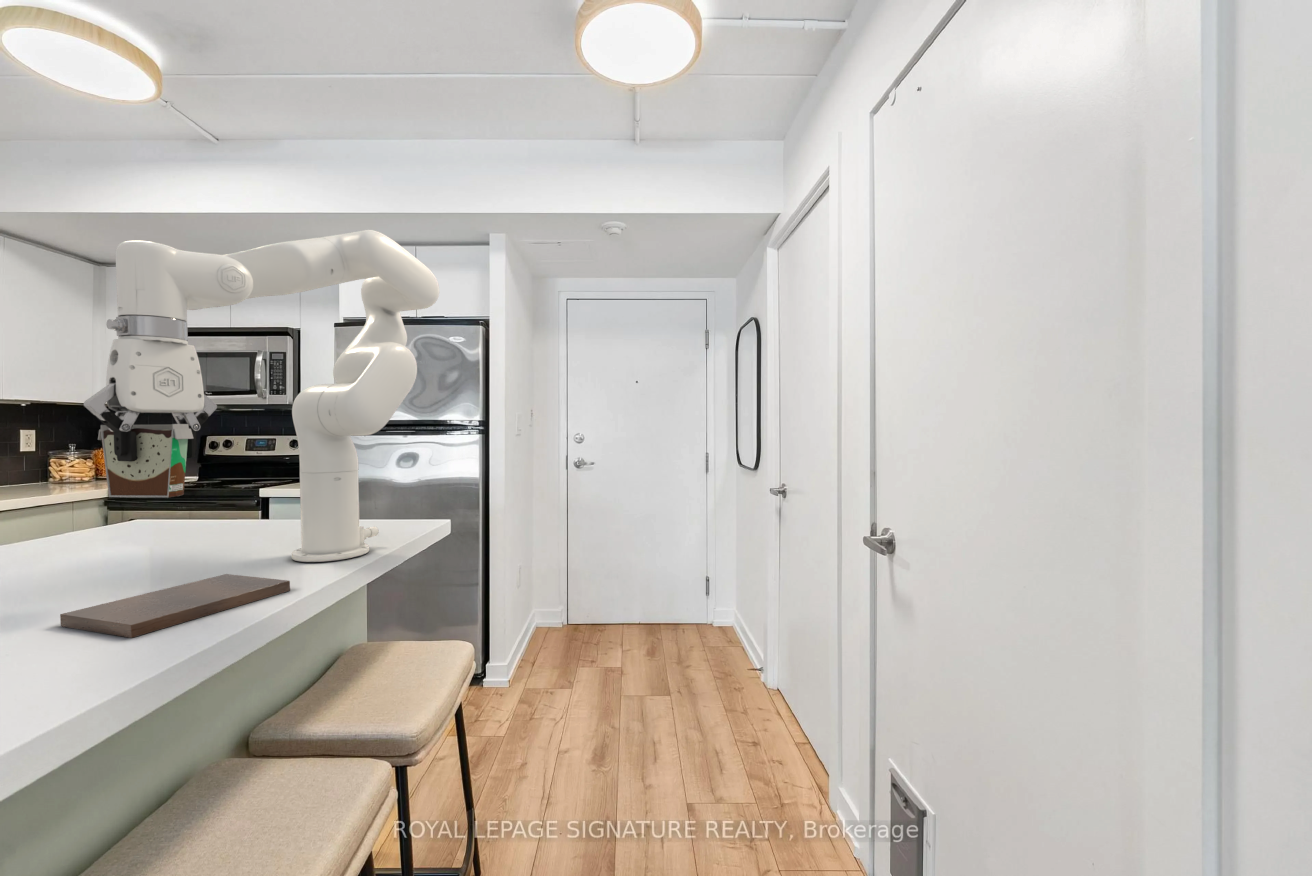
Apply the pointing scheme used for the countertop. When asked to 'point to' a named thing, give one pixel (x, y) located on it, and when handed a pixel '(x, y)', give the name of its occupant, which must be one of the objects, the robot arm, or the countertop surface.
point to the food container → (148, 462)
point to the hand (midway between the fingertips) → (157, 458)
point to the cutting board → (172, 605)
